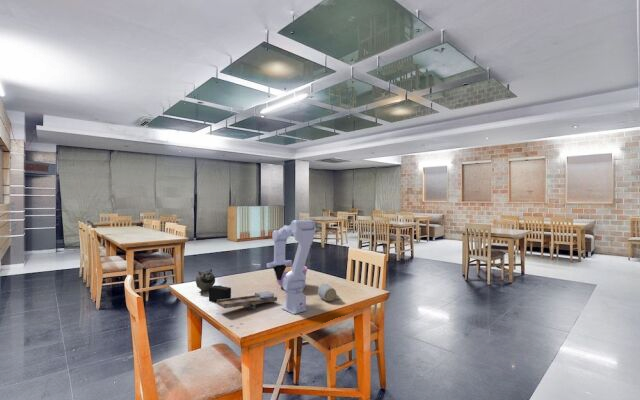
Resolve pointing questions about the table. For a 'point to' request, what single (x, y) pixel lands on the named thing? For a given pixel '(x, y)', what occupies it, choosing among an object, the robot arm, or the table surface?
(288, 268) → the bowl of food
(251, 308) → the pivot stand
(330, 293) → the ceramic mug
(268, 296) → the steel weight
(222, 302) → the beam
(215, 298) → the digital camera
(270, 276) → the table surface
